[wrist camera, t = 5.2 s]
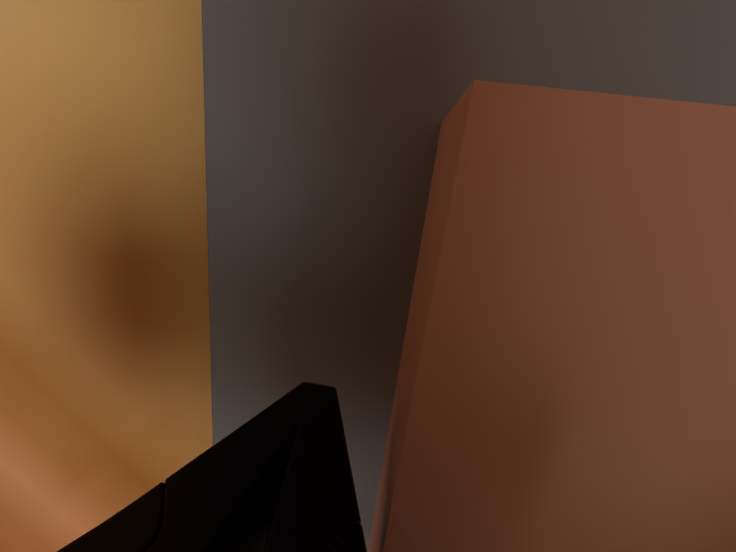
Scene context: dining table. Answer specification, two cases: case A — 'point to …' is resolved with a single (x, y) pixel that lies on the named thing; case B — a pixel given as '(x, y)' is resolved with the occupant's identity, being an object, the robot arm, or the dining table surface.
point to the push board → (381, 168)
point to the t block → (569, 331)
